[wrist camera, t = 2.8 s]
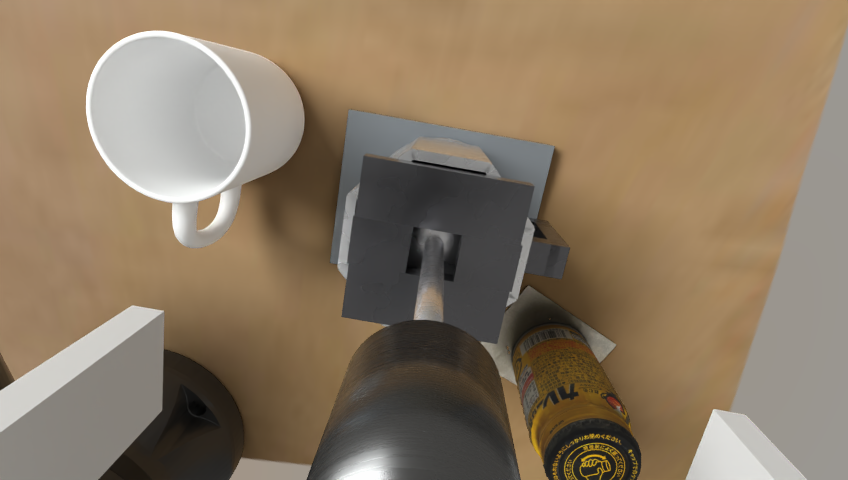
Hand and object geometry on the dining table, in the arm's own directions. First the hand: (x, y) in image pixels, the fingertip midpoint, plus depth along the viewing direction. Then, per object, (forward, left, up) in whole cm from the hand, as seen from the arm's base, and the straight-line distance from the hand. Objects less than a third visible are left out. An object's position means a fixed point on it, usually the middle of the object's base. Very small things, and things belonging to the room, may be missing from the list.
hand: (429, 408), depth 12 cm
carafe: (+1, 0, -23) cm, 23 cm away
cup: (-14, +2, -24) cm, 28 cm away
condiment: (+10, -10, -24) cm, 28 cm away
